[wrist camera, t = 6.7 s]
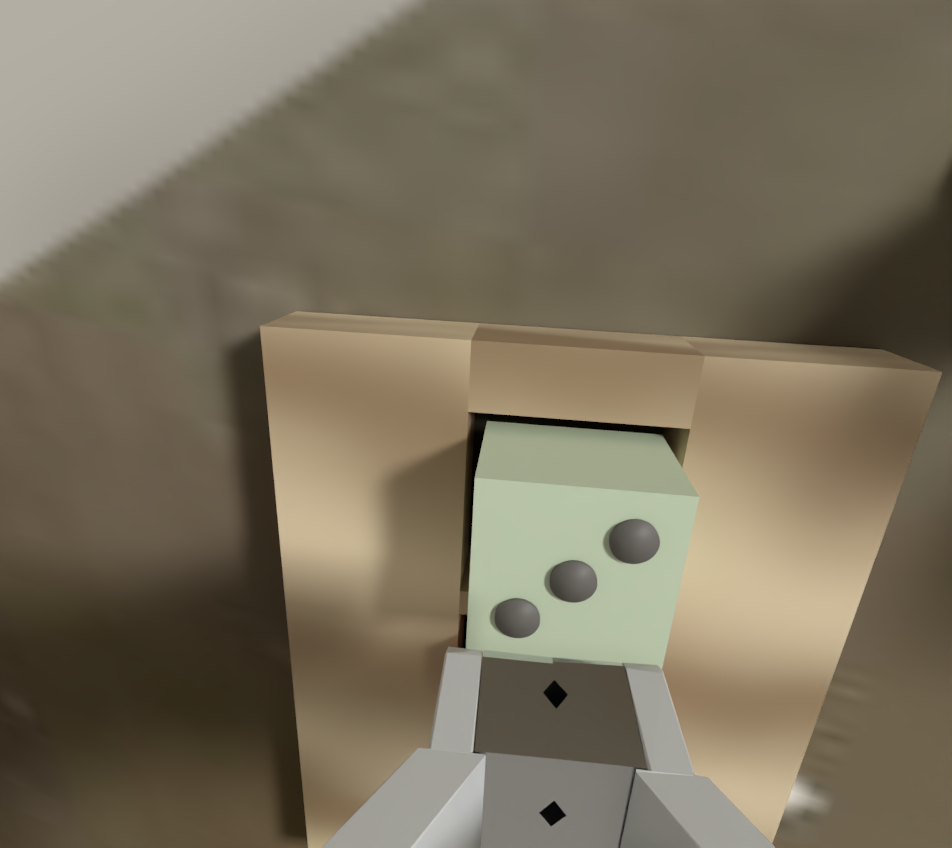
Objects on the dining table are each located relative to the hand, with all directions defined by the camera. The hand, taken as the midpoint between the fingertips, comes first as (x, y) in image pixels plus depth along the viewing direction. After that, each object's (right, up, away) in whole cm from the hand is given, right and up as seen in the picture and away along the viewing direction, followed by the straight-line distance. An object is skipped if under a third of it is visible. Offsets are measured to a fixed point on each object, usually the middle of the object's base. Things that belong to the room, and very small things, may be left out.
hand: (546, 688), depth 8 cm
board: (+1, -3, +9) cm, 9 cm away
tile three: (+1, +2, +5) cm, 6 cm away
